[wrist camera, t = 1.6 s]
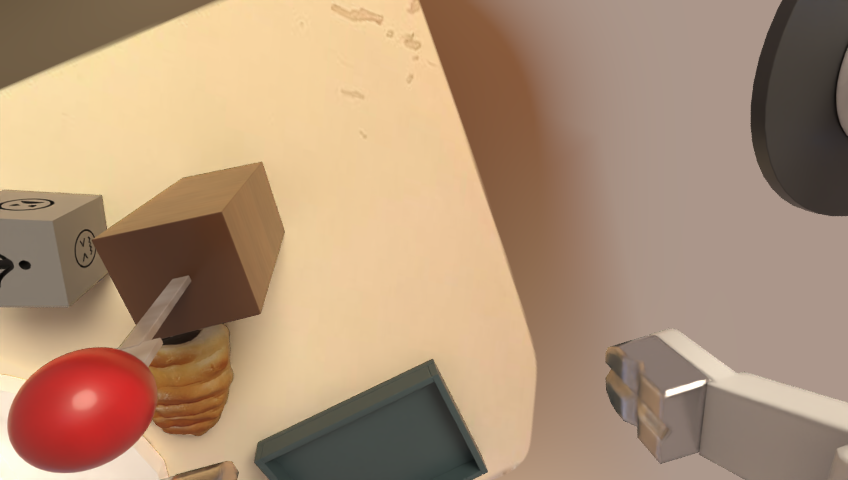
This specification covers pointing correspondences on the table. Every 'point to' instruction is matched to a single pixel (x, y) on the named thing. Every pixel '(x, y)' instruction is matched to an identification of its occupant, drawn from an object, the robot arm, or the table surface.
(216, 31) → the table surface
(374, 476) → the teal serving tray
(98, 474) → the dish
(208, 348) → the pastry
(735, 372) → the robot arm
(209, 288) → the red ball lever
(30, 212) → the dice cube
